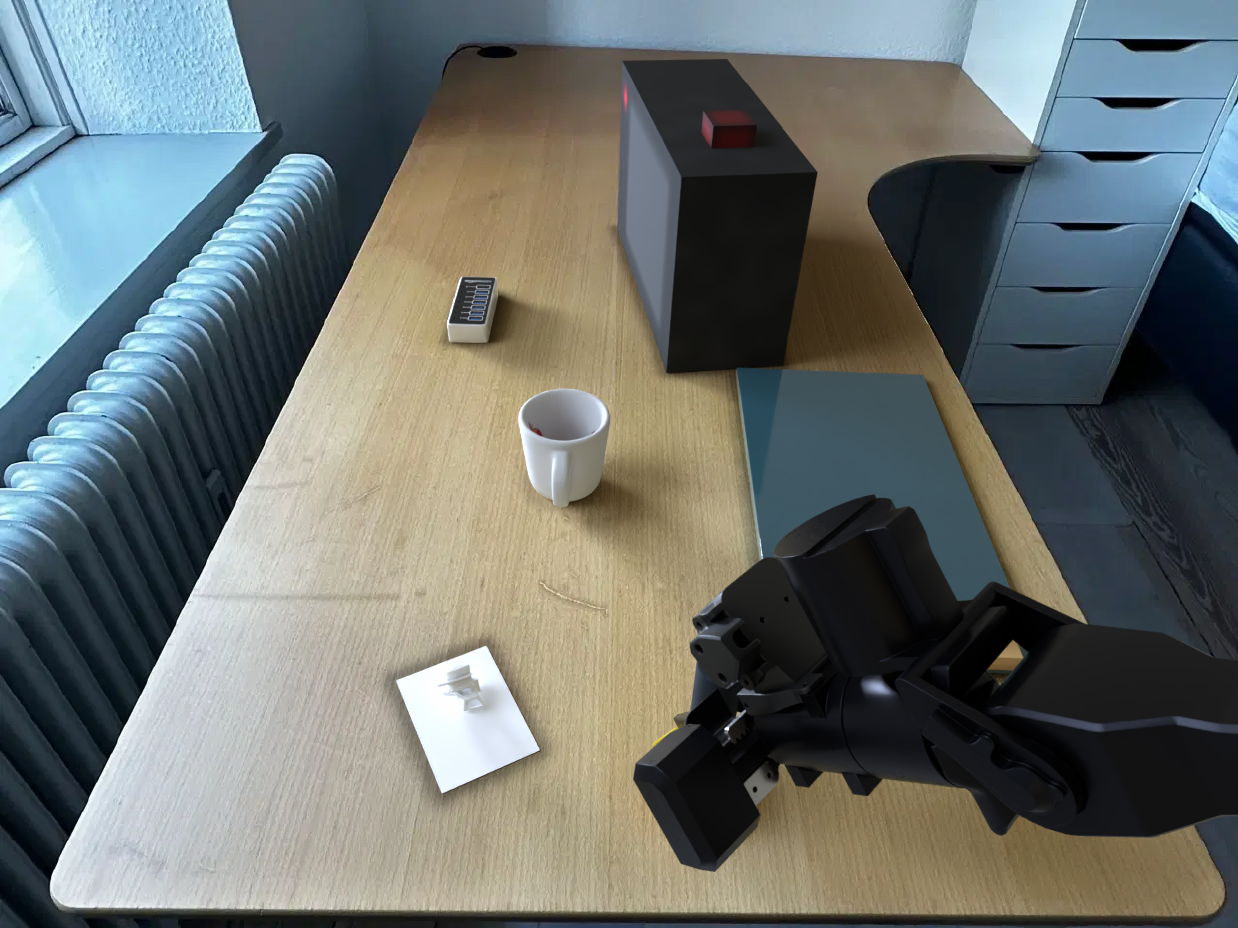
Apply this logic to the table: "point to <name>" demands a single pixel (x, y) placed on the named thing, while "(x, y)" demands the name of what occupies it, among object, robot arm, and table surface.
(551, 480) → the cup
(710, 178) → the speaker
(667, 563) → the table surface
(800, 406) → the plate
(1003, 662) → the tan square block
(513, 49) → the table surface
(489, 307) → the multiport hub
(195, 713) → the table surface
